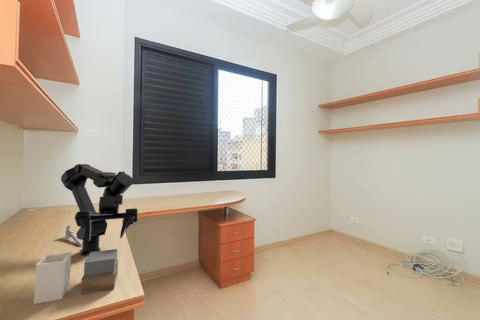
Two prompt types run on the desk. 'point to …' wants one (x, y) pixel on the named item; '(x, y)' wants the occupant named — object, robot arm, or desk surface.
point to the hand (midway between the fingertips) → (105, 239)
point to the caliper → (72, 235)
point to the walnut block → (99, 282)
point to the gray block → (100, 262)
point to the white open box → (52, 277)
